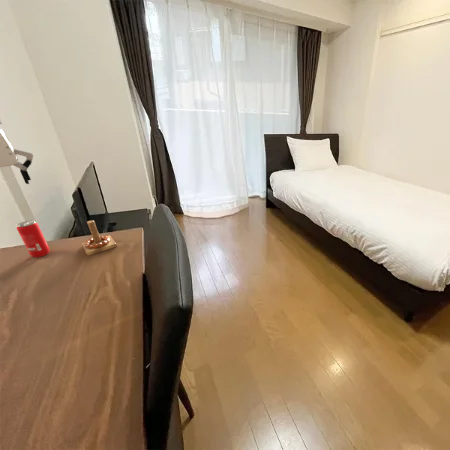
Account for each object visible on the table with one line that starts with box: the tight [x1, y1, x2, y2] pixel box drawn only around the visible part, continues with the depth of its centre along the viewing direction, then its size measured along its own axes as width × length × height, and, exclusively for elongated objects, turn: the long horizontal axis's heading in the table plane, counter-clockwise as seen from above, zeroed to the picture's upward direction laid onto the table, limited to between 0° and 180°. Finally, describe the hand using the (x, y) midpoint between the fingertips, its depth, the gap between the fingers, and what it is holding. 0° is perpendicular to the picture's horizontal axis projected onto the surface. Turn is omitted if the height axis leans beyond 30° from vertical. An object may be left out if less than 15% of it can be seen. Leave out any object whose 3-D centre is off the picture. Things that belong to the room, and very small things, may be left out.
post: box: [81, 220, 118, 256], centre depth 98 cm, size 9×9×10 cm
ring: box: [84, 235, 110, 249], centre depth 99 cm, size 8×8×1 cm
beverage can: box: [16, 220, 50, 258], centre depth 93 cm, size 5×5×12 cm
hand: (5, 186), depth 80 cm, fingers open, 9 cm apart
